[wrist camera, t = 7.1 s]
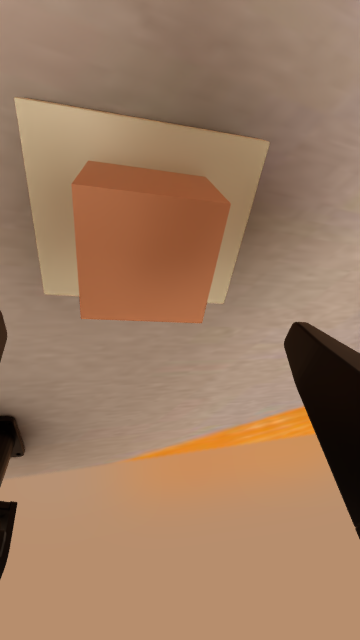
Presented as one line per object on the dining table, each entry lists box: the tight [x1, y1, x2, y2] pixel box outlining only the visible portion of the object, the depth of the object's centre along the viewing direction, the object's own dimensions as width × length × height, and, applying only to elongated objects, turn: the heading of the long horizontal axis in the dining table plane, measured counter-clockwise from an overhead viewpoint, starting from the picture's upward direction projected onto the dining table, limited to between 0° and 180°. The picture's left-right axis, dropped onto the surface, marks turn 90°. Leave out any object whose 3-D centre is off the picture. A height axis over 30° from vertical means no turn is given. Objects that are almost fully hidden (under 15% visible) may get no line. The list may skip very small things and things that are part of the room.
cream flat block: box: [14, 97, 270, 304], centre depth 17 cm, size 10×12×3 cm
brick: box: [71, 160, 231, 323], centre depth 14 cm, size 6×6×5 cm
